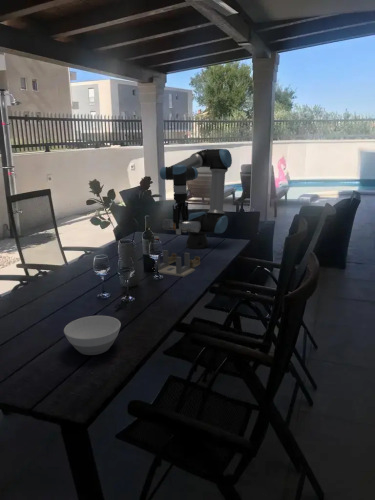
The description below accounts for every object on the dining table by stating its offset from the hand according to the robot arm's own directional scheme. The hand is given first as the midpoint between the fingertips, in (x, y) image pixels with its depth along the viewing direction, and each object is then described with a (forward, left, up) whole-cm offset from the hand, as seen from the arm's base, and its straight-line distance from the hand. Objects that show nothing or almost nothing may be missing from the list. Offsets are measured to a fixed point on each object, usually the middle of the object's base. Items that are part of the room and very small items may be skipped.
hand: (181, 233), depth 247 cm
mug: (-4, -23, -19) cm, 30 cm away
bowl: (+104, +26, -19) cm, 109 cm away
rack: (0, 0, -19) cm, 19 cm away
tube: (0, 0, +2) cm, 2 cm away
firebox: (+14, +2, -19) cm, 23 cm away
